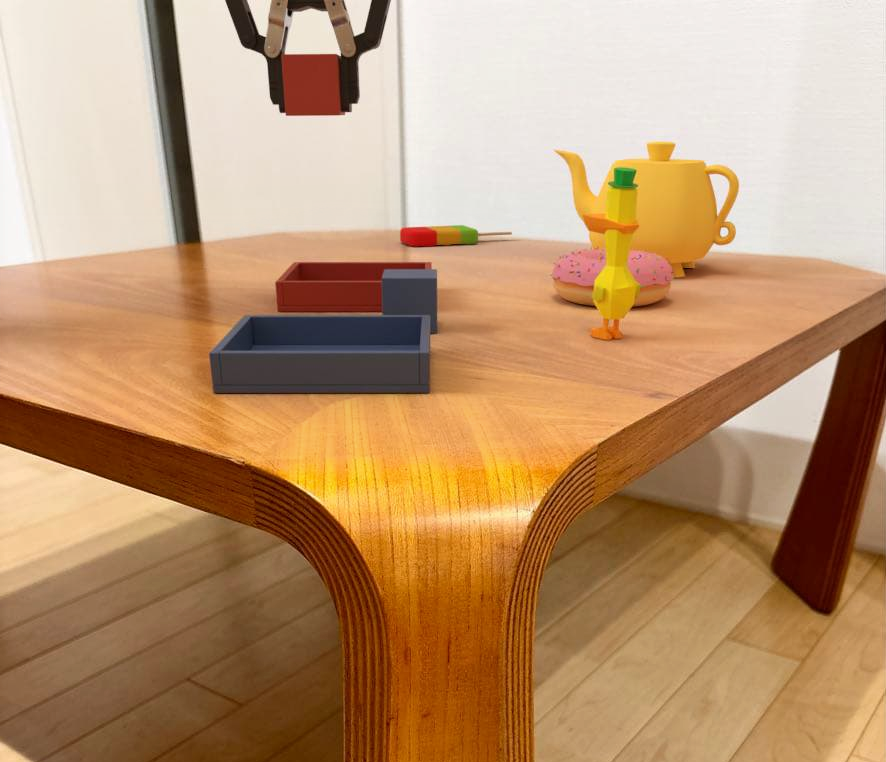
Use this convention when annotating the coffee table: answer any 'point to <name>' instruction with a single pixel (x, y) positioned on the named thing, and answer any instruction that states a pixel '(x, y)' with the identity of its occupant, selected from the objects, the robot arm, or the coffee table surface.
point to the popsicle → (442, 235)
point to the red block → (311, 84)
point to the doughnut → (584, 266)
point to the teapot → (664, 204)
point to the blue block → (410, 293)
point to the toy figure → (615, 253)
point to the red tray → (335, 286)
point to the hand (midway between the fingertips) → (315, 111)
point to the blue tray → (324, 354)
